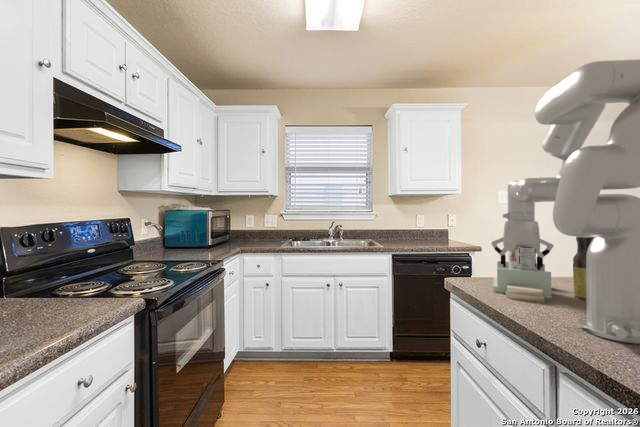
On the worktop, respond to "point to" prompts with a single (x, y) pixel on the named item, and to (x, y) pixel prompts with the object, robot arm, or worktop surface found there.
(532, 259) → the candy bar box
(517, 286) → the ash offcut
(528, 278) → the rack
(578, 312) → the worktop surface
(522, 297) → the birch offcut
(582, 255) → the sauce bottle
